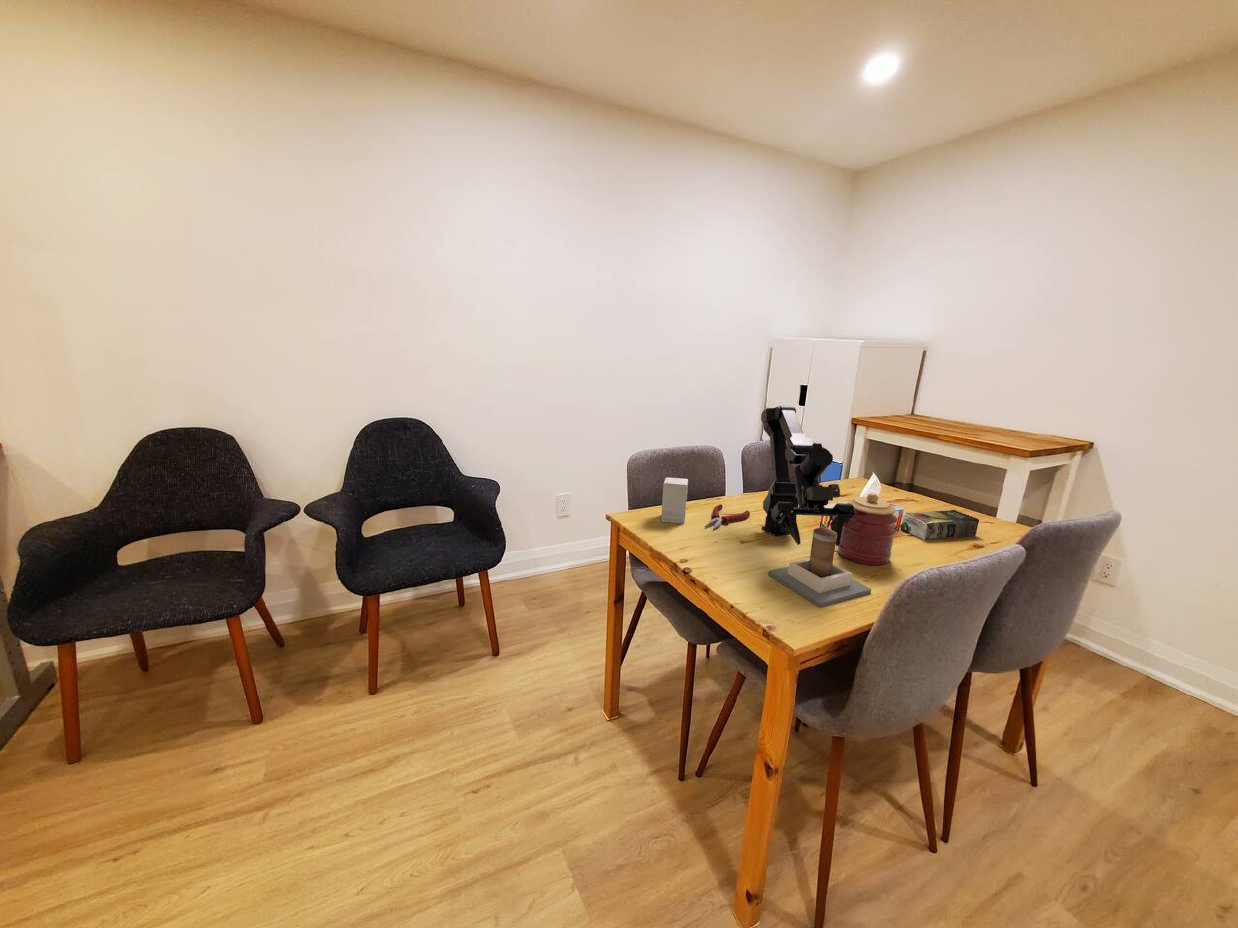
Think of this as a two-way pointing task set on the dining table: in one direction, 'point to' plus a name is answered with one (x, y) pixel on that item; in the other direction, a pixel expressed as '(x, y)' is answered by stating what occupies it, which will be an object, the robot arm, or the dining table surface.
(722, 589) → the dining table surface
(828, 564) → the brown upright cylinder
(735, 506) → the dining table surface
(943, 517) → the juice carton
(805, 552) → the dining table surface
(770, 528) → the robot arm
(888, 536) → the canister
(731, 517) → the pliers
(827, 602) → the docking plate
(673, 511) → the supplement box
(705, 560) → the dining table surface
